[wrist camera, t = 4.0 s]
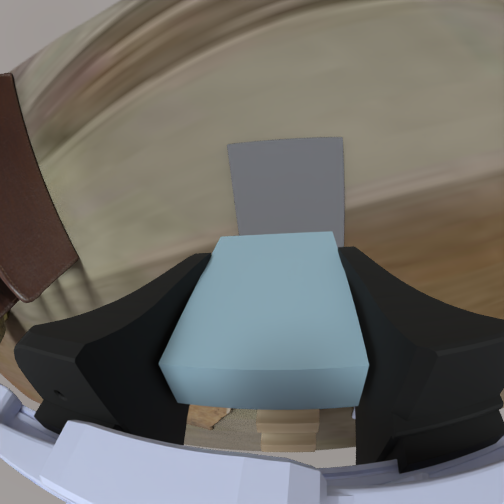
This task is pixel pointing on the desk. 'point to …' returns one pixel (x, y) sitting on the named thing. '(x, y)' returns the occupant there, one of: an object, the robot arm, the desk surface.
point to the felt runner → (289, 186)
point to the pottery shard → (205, 415)
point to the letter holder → (25, 214)
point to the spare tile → (269, 328)
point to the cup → (3, 325)
